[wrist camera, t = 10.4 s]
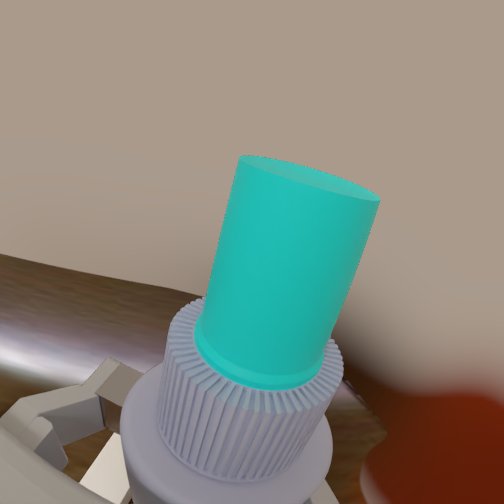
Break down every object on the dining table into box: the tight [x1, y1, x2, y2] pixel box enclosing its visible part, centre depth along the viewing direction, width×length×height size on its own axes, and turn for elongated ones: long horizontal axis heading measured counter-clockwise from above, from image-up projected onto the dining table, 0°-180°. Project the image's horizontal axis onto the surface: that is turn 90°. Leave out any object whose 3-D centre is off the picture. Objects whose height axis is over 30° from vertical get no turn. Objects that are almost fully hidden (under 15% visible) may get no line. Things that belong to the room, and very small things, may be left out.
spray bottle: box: [120, 156, 380, 504], centre depth 9 cm, size 6×6×22 cm
